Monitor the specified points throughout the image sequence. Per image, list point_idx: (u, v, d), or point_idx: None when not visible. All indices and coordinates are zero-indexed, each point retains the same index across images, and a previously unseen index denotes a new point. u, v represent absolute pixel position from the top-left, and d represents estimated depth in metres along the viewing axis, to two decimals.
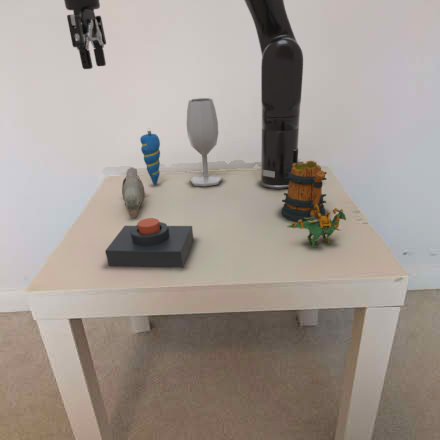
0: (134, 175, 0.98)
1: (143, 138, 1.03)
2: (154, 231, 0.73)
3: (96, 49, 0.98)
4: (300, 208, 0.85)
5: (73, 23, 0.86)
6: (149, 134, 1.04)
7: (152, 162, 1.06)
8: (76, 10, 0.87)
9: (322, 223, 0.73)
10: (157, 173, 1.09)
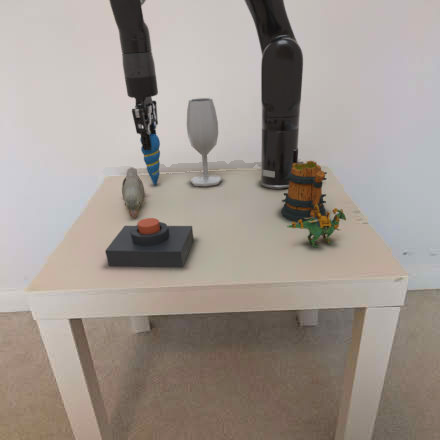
0: (134, 175, 0.98)
1: None
2: (154, 231, 0.73)
3: (149, 130, 1.06)
4: (300, 208, 0.85)
5: (137, 116, 0.95)
6: None
7: (152, 162, 1.06)
8: (138, 99, 0.96)
9: (322, 223, 0.73)
10: (157, 173, 1.09)
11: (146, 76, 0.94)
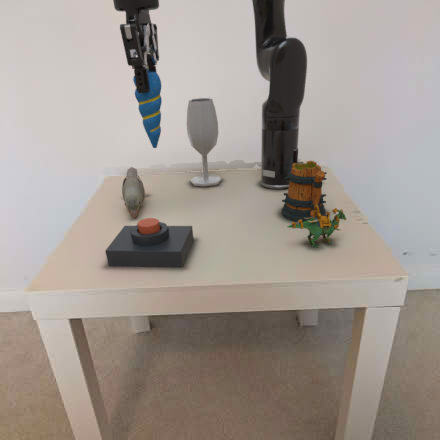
0: (134, 175, 0.98)
1: None
2: (154, 231, 0.73)
3: None
4: (300, 208, 0.85)
5: (128, 36, 0.64)
6: None
7: (150, 112, 0.74)
8: (129, 11, 0.64)
9: (322, 223, 0.73)
10: (157, 130, 0.77)
11: None
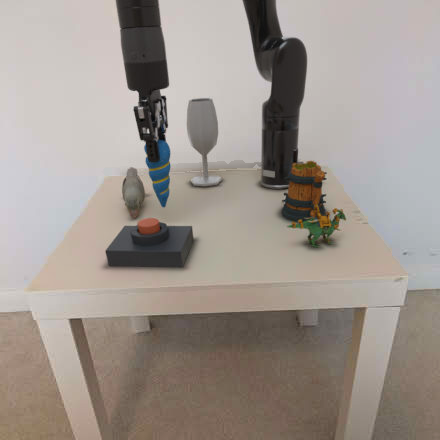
0: (134, 175, 0.98)
1: None
2: (154, 231, 0.73)
3: None
4: (300, 208, 0.85)
5: (141, 117, 0.69)
6: None
7: (160, 178, 0.79)
8: (142, 93, 0.69)
9: (322, 223, 0.73)
10: (166, 192, 0.82)
11: (154, 61, 0.67)
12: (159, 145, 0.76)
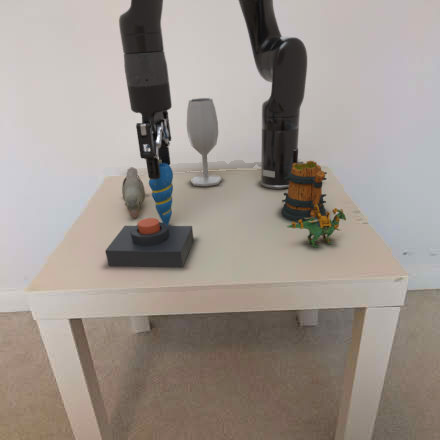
0: (134, 175, 0.98)
1: None
2: (154, 231, 0.73)
3: (161, 148, 0.82)
4: (300, 208, 0.85)
5: (143, 133, 0.70)
6: (159, 164, 0.79)
7: (163, 199, 0.82)
8: (145, 115, 0.71)
9: (322, 223, 0.73)
10: (169, 213, 0.84)
11: (156, 84, 0.69)
12: (162, 168, 0.78)
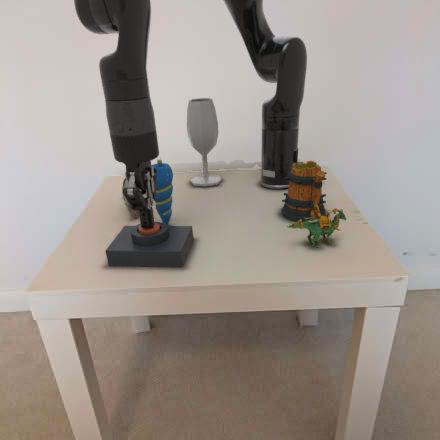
0: None
1: None
2: None
3: None
4: (300, 208, 0.85)
5: (132, 197, 0.65)
6: (159, 164, 0.79)
7: (163, 199, 0.82)
8: (129, 166, 0.64)
9: (322, 223, 0.73)
10: (169, 213, 0.84)
11: (141, 133, 0.62)
12: (162, 168, 0.78)
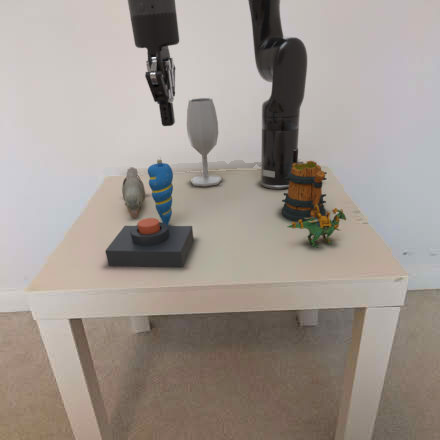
0: (134, 175, 0.98)
1: (152, 170, 0.79)
2: (154, 231, 0.73)
3: None
4: (300, 208, 0.85)
5: (154, 83, 0.66)
6: (159, 164, 0.79)
7: (163, 199, 0.82)
8: (151, 49, 0.64)
9: (322, 223, 0.73)
10: (169, 213, 0.84)
11: (163, 12, 0.62)
12: (162, 168, 0.78)
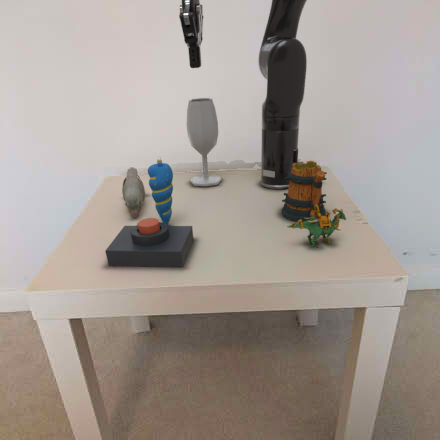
0: (134, 175, 0.98)
1: (152, 170, 0.79)
2: (154, 231, 0.73)
3: None
4: (300, 208, 0.85)
5: (187, 23, 0.75)
6: (159, 164, 0.79)
7: (163, 199, 0.82)
8: None
9: (322, 223, 0.73)
10: (169, 213, 0.84)
11: None
12: (162, 168, 0.78)
